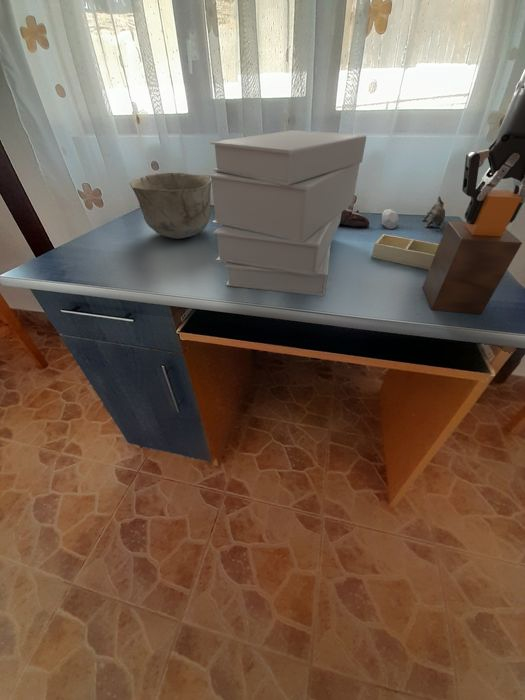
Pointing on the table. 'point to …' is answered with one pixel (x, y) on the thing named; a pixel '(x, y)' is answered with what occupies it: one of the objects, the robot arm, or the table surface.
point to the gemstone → (390, 218)
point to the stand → (467, 269)
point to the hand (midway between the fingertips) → (486, 223)
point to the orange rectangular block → (495, 213)
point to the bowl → (174, 202)
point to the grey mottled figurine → (436, 214)
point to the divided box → (405, 251)
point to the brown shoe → (353, 218)
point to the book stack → (282, 206)
